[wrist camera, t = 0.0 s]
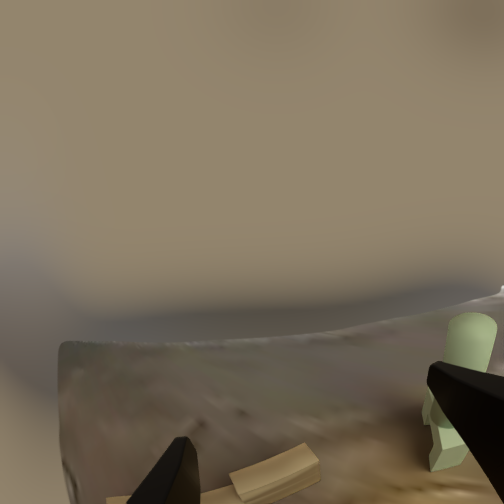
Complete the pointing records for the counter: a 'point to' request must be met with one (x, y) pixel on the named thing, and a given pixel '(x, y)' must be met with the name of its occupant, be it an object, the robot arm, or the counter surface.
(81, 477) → the counter surface
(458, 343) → the green joystick knob
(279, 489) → the birch slotted plate
